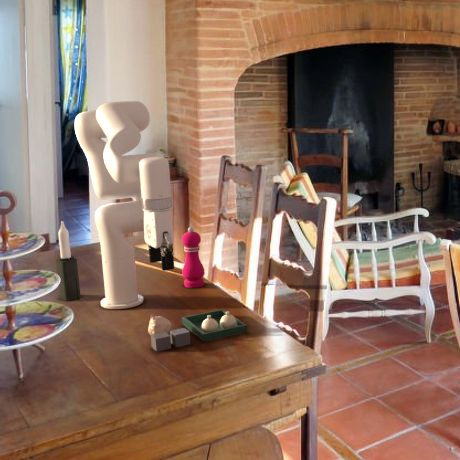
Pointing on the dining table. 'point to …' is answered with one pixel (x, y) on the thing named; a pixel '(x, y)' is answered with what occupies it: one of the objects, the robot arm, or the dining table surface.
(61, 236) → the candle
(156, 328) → the garlic bulb
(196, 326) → the green tray
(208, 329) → the white bulb
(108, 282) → the robot arm
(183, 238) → the pepper mill
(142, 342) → the dining table surface
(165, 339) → the grey block
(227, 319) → the white bulb
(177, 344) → the grey block
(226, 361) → the dining table surface
